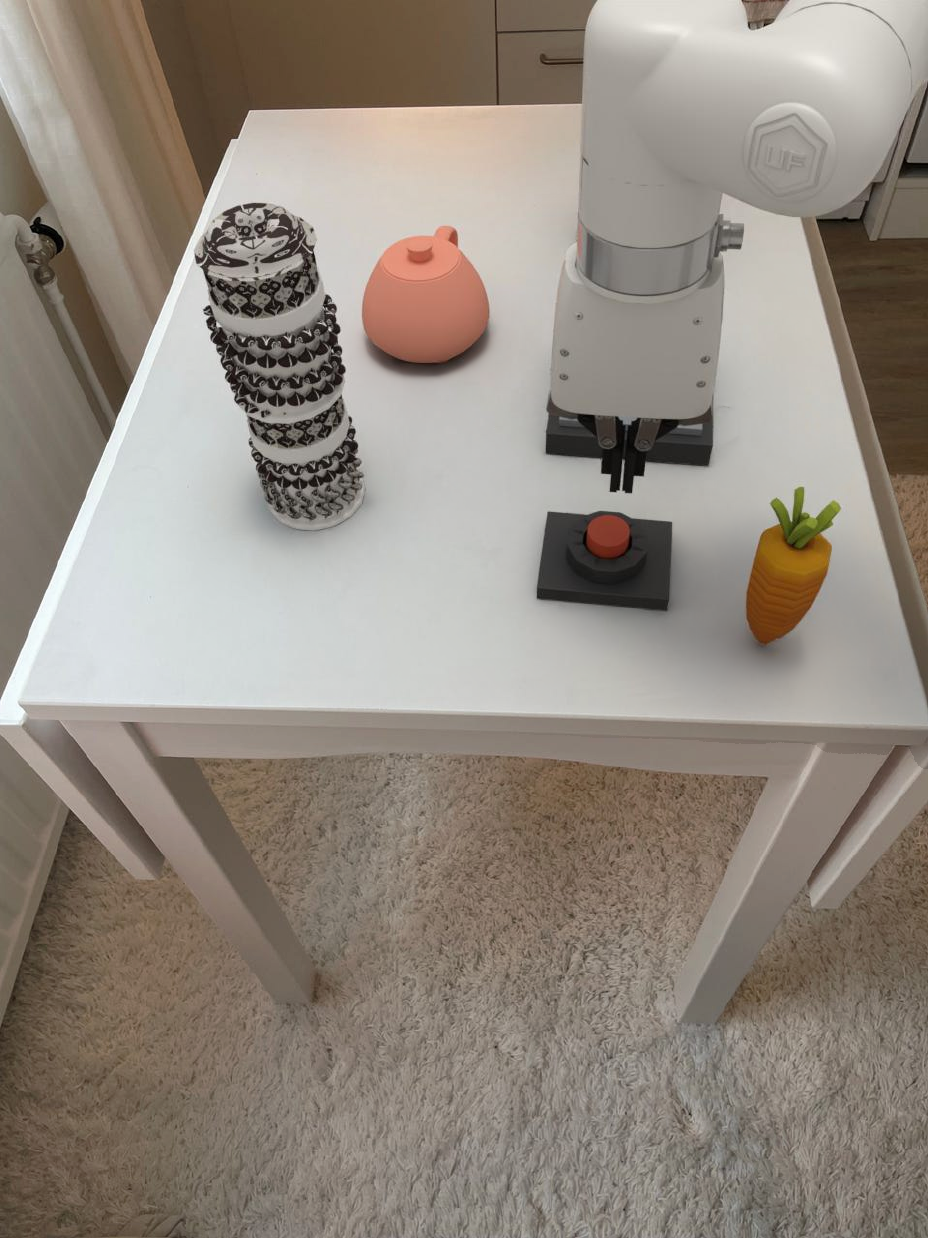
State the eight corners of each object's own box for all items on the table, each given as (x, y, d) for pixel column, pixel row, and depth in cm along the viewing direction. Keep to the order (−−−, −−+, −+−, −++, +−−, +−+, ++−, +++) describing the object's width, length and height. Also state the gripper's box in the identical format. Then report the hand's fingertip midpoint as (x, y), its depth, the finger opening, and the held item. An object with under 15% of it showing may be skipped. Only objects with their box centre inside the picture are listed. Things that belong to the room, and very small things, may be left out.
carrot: (714, 644, 71) (754, 504, 59) (751, 604, 73) (797, 460, 61) (773, 681, 68) (827, 544, 56) (809, 639, 70) (869, 497, 58)
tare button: (629, 530, 74) (631, 516, 73) (626, 561, 72) (628, 547, 71) (588, 526, 75) (589, 513, 73) (584, 557, 73) (585, 544, 72)
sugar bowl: (344, 360, 92) (327, 266, 84) (404, 279, 100) (394, 185, 91) (461, 388, 89) (455, 293, 81) (514, 302, 96) (514, 207, 88)
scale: (709, 361, 90) (715, 332, 87) (708, 466, 82) (714, 438, 79) (560, 352, 91) (562, 324, 89) (545, 453, 83) (546, 426, 81)
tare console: (670, 532, 77) (675, 507, 75) (667, 611, 73) (672, 586, 70) (547, 522, 79) (548, 497, 76) (536, 598, 74) (536, 574, 72)
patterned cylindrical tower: (244, 522, 80) (152, 254, 60) (289, 448, 85) (218, 178, 65) (344, 544, 78) (283, 274, 58) (384, 466, 83) (341, 194, 63)
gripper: (781, 208, 54) (729, 448, 69) (519, 201, 56) (523, 436, 71) (787, 286, 50) (730, 525, 64) (502, 276, 52) (510, 509, 66)
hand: (621, 478), depth 67 cm, fingers closed
